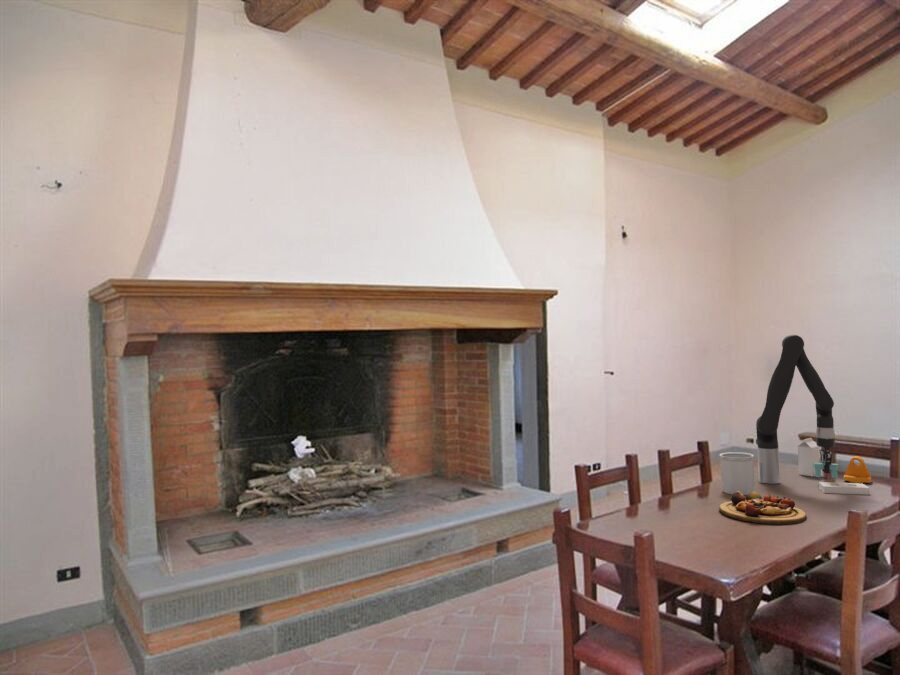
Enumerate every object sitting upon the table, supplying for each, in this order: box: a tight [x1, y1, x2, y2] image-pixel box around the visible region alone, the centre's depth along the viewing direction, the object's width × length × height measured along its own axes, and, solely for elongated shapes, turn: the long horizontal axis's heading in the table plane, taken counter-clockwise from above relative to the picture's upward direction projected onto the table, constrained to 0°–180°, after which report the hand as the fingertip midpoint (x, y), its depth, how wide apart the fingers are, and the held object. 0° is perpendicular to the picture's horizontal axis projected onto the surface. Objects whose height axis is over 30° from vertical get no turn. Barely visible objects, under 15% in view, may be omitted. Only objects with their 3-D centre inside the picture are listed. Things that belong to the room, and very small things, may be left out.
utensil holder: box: [719, 451, 756, 496], centre depth 288 cm, size 15×15×18 cm
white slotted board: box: [818, 481, 871, 496], centre depth 282 cm, size 18×9×3 cm, turn 71°
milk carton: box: [797, 437, 821, 477], centre depth 318 cm, size 7×7×19 cm
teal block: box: [813, 462, 840, 479], centre depth 295 cm, size 10×3×6 cm, turn 71°
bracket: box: [842, 455, 872, 484], centre depth 300 cm, size 11×7×12 cm, turn 50°
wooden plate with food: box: [718, 491, 807, 525], centre depth 250 cm, size 32×32×8 cm
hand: (826, 472), depth 295 cm, fingers closed on teal block, 3 cm apart
